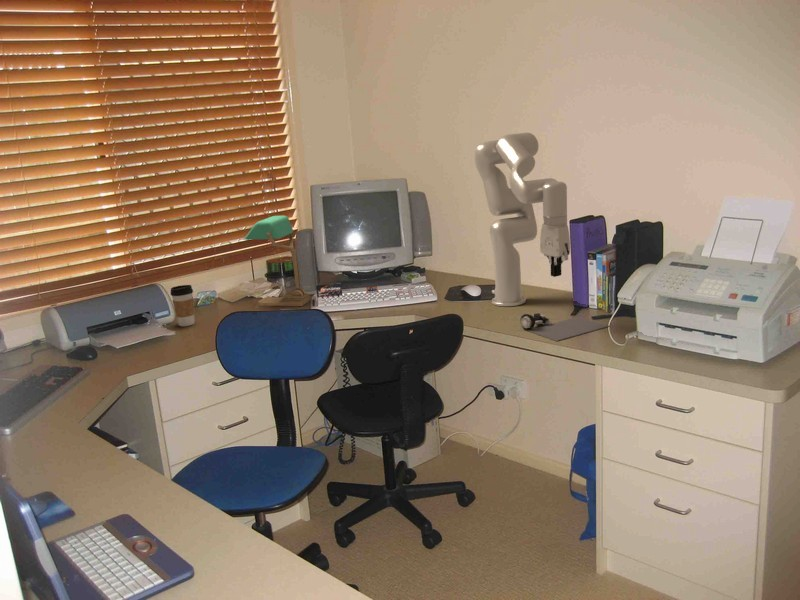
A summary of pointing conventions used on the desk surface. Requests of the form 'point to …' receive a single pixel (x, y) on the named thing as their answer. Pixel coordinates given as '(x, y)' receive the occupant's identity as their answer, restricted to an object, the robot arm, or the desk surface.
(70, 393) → the desk surface
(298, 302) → the banker's lamp
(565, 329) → the mat
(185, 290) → the coffee cup
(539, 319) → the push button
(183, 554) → the desk surface
